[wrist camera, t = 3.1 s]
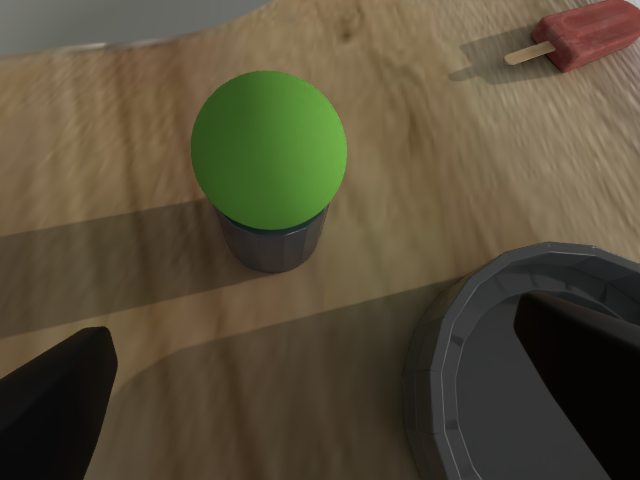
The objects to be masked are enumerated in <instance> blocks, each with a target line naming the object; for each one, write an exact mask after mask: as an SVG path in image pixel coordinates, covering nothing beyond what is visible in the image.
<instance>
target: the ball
mask: <svg viewBox="0 0 640 480" xmlns="http://www.w3.org/2000/svg"><path fill="white" fill-rule="evenodd" d="M191 159H192V165H193V169H194V172H195V176H196V178H197V180H198V183H199V185H200V187H201V189H202V190H203V192H204V193H205V195H206V196H207V198H208V199H209V200H210V201H211V202H212V204H213V205H214V206H215V207H216V208H217V209H218V210H220V211H221V212H222V213H223V214H224V215H226V216H228V217H229V218H231V219H232V220H234V221H237V222H239V223H241V224H243V225H246V226H249V227H252V228H257V229H265V230H278V229H285V228H290V227H293V226H296V225H299V224H301V223H303V222H305V221H307V220H309V219H311V218H312V217H314V216H315V215H317V214H318V213H319V212H320V211H322V210H323V209H324V208H325V206H326V205H327V204H328V203H329V202H330V201H331V199H332V198H333V197H334V195H335V194H336V192H337V190H338V188H339V186H340V184H341V182H342V179H343V176H344V172H345V166H346V160H347V145H346V138H345V134H344V130H343V127H342V123H341V121H340V119H339V117H338V115H337V113H336V111H335V110H334V108H333V106H332V105H331V103H330V102H329V101H328V100H327V99H326V97H325V96H324V95H323V94H322V93H320V92H319V91H318V90H317V89H316V88H315V87H313V86H312V85H311V84H309V83H307V82H306V81H304V80H302V79H300V78H298V77H295V76H293V75H290V74H287V73H282V72H277V71H256V72H251V73H247V74H243V75H240V76H238V77H236V78H234V79H231V80H230V81H228V82H226V83H224V84H223V85H222V86H220V87H219V88H218V89H217V90H216V91H215V92H214V93H213V94H212V95H211V96H210V97H209V98H208V99H207V101H206V102H205V103H204V105H203V106H202V108H201V110H200V112H199V114H198V116H197V118H196V121H195V124H194V127H193V132H192V137H191Z"/></svg>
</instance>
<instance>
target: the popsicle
mask: <svg viewBox="0 0 640 480" xmlns="http://www.w3.org/2000/svg"><path fill="white" fill-rule="evenodd" d="M531 37H532V38H533V39H534V40H535V42H536V43H537V45H534V46H531V47H528V48H525V49H522V50H519V51H516V52H513V53H510V54H508V55H506V56H505V57H504V59H503V60H504V62H505V63H506V64H508V65H515V64H517V63H520V62H523V61H526V60H529V59H532V58H535V57H537V56H540V55H543V54H547V55H548V57H549V58H550V59H551V60H552V61H553V62H554V64H555V65H556V66H557V67H558V68H559V69H560V70H561V71H562V72H567V71H570V70H572V69H575V68H577V67H579V66H582V65H584V64H586V63H589V62H591V61H594V60H596V59H599V58H601V57H603V56H606V55H608V54H611V53H613V52H615V51H618V50H620V49H622V48H625V47H627V46H629V45H631V44H632V43H633V42H634V41H635V40H636V39H638V38H639V37H640V10H639V9H638V8H637V7H635V6H634V5H632V4H631V3H629V2H627V1H624V0H606V1H602V2H598V3H594V4H591V5H587V6H583V7H580V8H576V9H572V10H569V11H565V12H561V13H557V14H554V15H550V16H547V17H544V18H542V19H541V21H540V22H539V23H538V25H537V26H536V28H535V29H534V30H533V32H532V33H531Z"/></svg>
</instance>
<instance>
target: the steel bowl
mask: <svg viewBox="0 0 640 480" xmlns="http://www.w3.org/2000/svg"><path fill="white" fill-rule="evenodd" d="M530 292H543V293H546V294H549V295H551V296H554V297H557V298H560V299H563V300H566V301H569V302H572V303H574V304H577V305H580V306H583V307H586V308H589V309H592V310H594V311H597V312H600V313H603V314H606V315H609V316H612V317H614V318H617V319H620V320H623V321H626V322H629V323H632V324H635V325H637V326H640V264H639V263H638V262H635V261H632V260H630V259H627V258H624V257H622V256H619V255H617V254H614V253H611V252H609V251H606V250H604V249H601V248H598V247H596V246H593V245H582V244H571V243H559V242H543V243H539V244H535V245H531V246H527V247H523V248H519V249H515V250H511V251H507V252H505V253H502V254H501V255H499V256H497V257H496V258H494V259H492V260H491V261H489V262H487V263H486V264H484V265H482V266H480V267H479V268H477V269H475V270H474V271H472V272H470V273H469V274H467V275H466V276H464V277H463V278H461V279H460V280H459V281H457V282H456V283H454V284H453V285H451V286H450V287H449V288H447V289H446V290H444V291H443V292H441V293H440V294H439V295H438V296H437V297H436V299H435V300H434V302H433V303H432V305H431V306H430V308H429V309H428V310H427V312H426V313H425V315H424V316H423V318H422V319H421V321H420V322H419V323H418V325H417V326H416V329H415V330H414V334H413V337H412V341H411V345H410V348H409V352H408V355H407V359H406V363H405V366H404V370H403V408H404V425H405V430H406V433H407V436H408V439H409V442H410V446H411V449H412V452H413V455H414V459H415V462H416V465H417V468H418V472H419V475H420V478H421V480H611V479H610V478H609V476H608V475H607V473H606V472H605V470H604V469H603V468H602V466H601V465H600V463H599V462H598V461H597V459H596V458H595V456H594V455H593V453H592V452H591V451H590V449H589V448H588V446H587V445H586V444H585V442H584V441H583V439H582V438H581V436H580V435H579V434H578V432H577V431H576V429H575V428H574V427H573V425H572V424H571V422H570V421H569V420H568V418H567V417H566V415H565V414H564V412H563V411H562V410H561V408H560V407H559V405H558V404H557V403H556V401H555V400H554V398H553V397H552V395H551V394H550V392H549V391H548V389H547V387H546V386H545V384H544V382H543V381H542V379H541V377H540V376H539V374H538V372H537V370H536V369H535V367H534V365H533V363H532V362H531V360H530V358H529V357H528V355H527V353H526V351H525V350H524V348H523V346H522V344H521V343H520V341H519V339H518V337H517V336H516V334H515V331H514V327H513V322H514V318H515V314H516V310H517V306H518V302H519V298H520V297H521V295H522V294H524V293H530Z"/></svg>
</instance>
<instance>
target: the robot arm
mask: <svg viewBox="0 0 640 480" xmlns="http://www.w3.org/2000/svg"><path fill="white" fill-rule="evenodd" d="M513 327H514V331H515V334H516V336H517V337H518V339H519V341H520V343H521V344H522V346H523V348H524V350H525V351H526V353H527V355H528V357H529V358H530V360H531V362H532V363H533V365H534V367H535V369H536V370H537V372H538V374H539V376H540V377H541V379H542V381H543V382H544V384H545V386H546V387H547V389H548V391H549V392H550V394H551V395H552V397H553V398H554V400H555V401H556V403H557V404H558V405H559V407H560V408H561V410H562V411H563V412H564V414H565V415H566V417H567V418H568V420H569V421H570V422H571V424H572V425H573V427H574V428H575V429H576V431H577V432H578V434H579V435H580V436H581V438H582V439H583V441H584V442H585V444H586V445H587V446H588V448H589V449H590V451H591V452H592V453H593V455H594V456H595V458H596V459H597V461H598V462H599V463H600V465H601V466H602V468H603V469H604V470H605V472H606V473H607V475H608V476H609V478H610V479H611V480H640V326H637V325H635V324H632V323H629V322H626V321H623V320H620V319H617V318H614V317H612V316H609V315H606V314H603V313H600V312H597V311H594V310H592V309H589V308H586V307H583V306H580V305H577V304H574V303H572V302H569V301H566V300H563V299H560V298H557V297H554V296H551V295H549V294H546V293H543V292H530V293H524V294H522V295H521V297H520V298H519V302H518V306H517V310H516V314H515V318H514V322H513ZM117 367H118V361H117V356H116V352H115V348H114V345H113V341H112V337H111V333H110V331H109V329H108V328H106V327H104V326H101V327H89V328H83V329H82V330H80V331H78V332H77V333H75V334H73V335H72V336H70V337H69V338H67V339H65V340H64V341H62V342H60V343H59V344H57V345H55V346H54V347H52V348H51V349H49V350H47V351H46V352H44V353H42V354H41V355H39V356H38V357H36V358H34V359H33V360H31V361H29V362H28V363H26V364H24V365H23V366H21V367H20V368H18V369H16V370H15V371H13V372H11V373H10V374H8V375H7V376H5V377H3V378H2V379H0V480H83V479H84V476H85V474H86V471H87V468H88V466H89V463H90V461H91V458H92V456H93V453H94V450H95V447H96V445H97V442H98V438H99V435H100V432H101V428H102V424H103V421H104V417H105V413H106V409H107V406H108V402H109V398H110V395H111V391H112V387H113V383H114V380H115V376H116V372H117Z"/></svg>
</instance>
